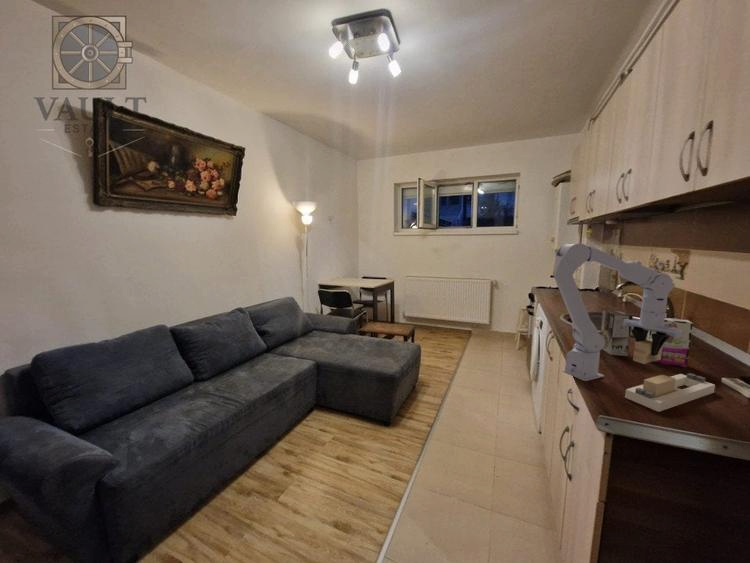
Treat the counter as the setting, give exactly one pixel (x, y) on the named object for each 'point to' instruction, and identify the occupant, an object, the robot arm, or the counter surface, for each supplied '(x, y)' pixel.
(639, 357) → the beige rectangular block
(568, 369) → the robot arm
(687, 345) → the candy bar box
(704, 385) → the white block holder
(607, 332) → the coffee box
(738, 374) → the counter surface
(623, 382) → the counter surface
